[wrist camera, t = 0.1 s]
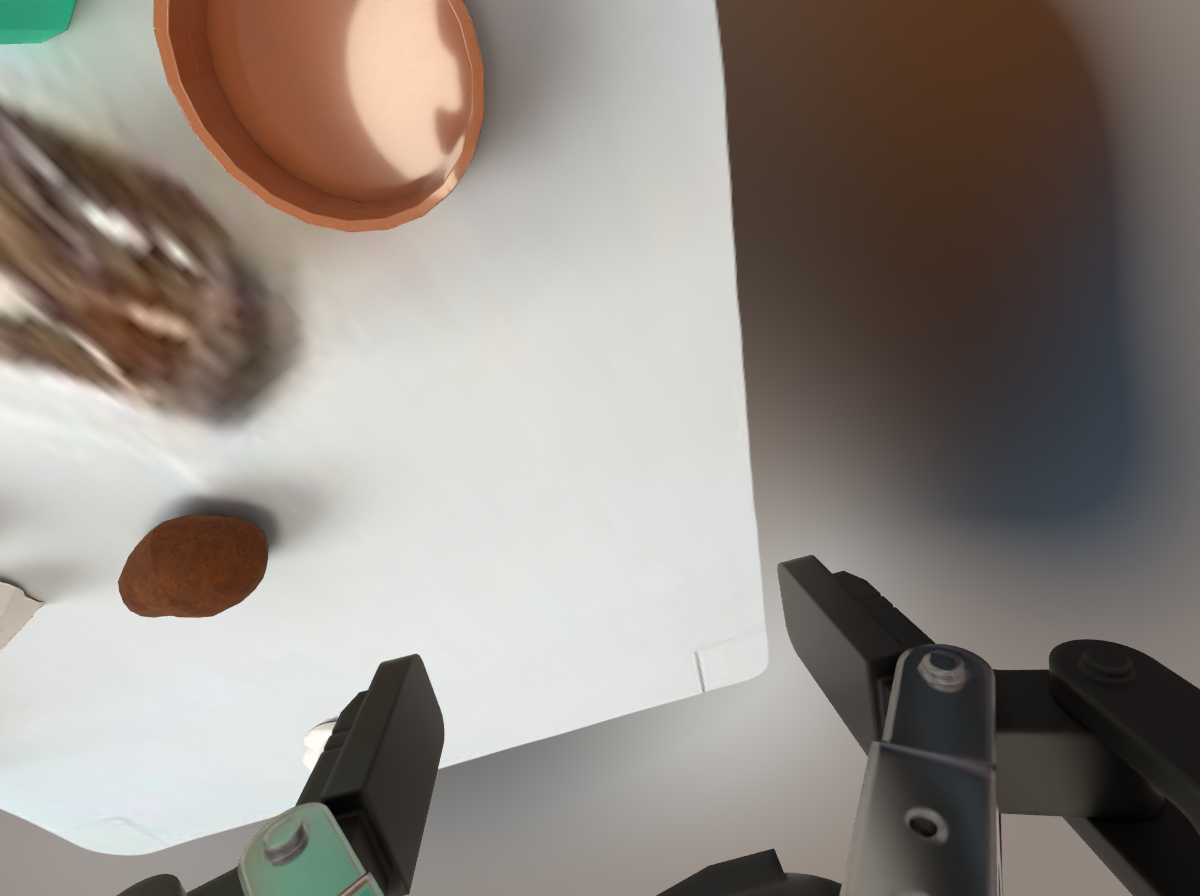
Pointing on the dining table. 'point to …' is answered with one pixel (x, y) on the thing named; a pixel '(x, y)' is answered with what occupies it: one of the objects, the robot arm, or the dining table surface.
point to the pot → (330, 100)
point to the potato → (194, 567)
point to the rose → (316, 743)
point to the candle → (33, 20)
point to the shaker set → (14, 612)
